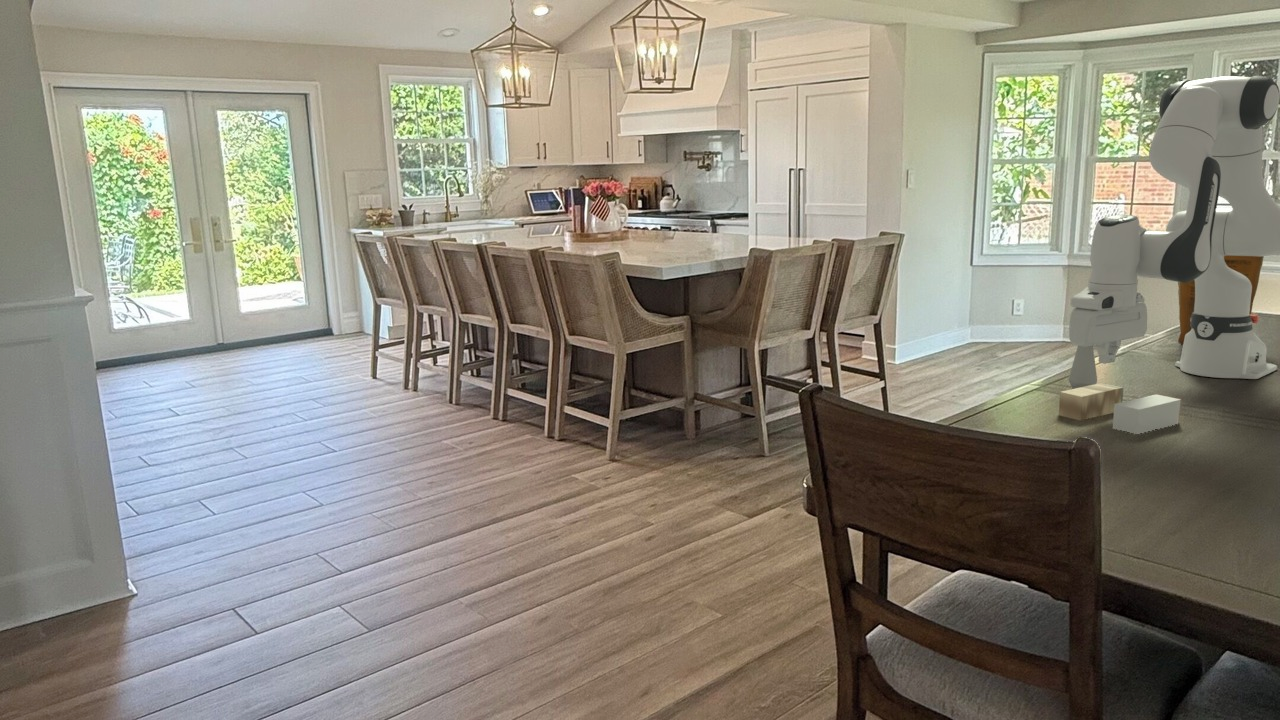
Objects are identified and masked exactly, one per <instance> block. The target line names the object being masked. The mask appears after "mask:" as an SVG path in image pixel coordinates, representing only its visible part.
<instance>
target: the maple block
mask: <svg viewBox="0 0 1280 720" xmlns="http://www.w3.org/2000/svg"><path fill="white" fill-rule="evenodd" d="M1124 388H1125V387H1122V386H1119V385H1114V384H1107V383H1104V382H1103V383H1102V382H1100V383H1099V382H1098V383H1096V384H1094V385H1089V386H1085V387H1080V388H1075V389H1072V388H1071V389H1067V390H1062V391H1059V402H1058V403H1059V405H1058V416H1061V417H1064V418H1069V419H1072V420H1077V421H1080V422H1081V421H1085V420H1089V419H1093V418H1097V416H1098V417H1100V416H1101V417H1102V416H1105V415H1109V414H1114V404H1117V403H1121V402H1124V401H1123V400H1124V399H1123V398H1124ZM1092 417H1093V418H1092ZM1088 418H1089V419H1088ZM1084 419H1085V420H1084Z"/></svg>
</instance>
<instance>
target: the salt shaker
mask: <svg viewBox="0 0 1280 720" xmlns="http://www.w3.org/2000/svg"><path fill="white" fill-rule="evenodd" d="M1095 360H1096V358H1095V352H1094V345H1093V346H1088V347H1083V346H1077V347H1076V351H1075V355H1074V358H1073V361H1072V365H1071V368H1070V369H1071V370H1070V372H1069V376H1068V382H1069V384H1070V386H1071V389H1075V388H1080V387H1085V386H1089V385H1094V384H1098V375H1097V368H1096V367H1097V366H1096V361H1095Z"/></svg>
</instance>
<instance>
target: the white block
mask: <svg viewBox="0 0 1280 720" xmlns="http://www.w3.org/2000/svg"><path fill="white" fill-rule="evenodd" d="M1181 405H1182V399H1181V398H1176V397H1171V396H1167V395H1162V394H1157V393H1156V394H1152V395H1147V396H1143V397H1140V398H1139V397H1137V398H1134V399H1131V400H1126V401H1122V402H1121V403H1117V404H1114V413H1113V420H1112V429H1113V430H1116V429H1117V431H1120V430H1122V431H1121V432H1123V431H1127V432H1130V433H1129V434H1131V433H1134V434H1133V435H1135V434H1139V435H1141V434H1140V433H1142V434H1145V433H1144V432H1146V433H1149V432H1148V431H1150V432H1153V431H1152V430H1154V431H1156V430H1155V429H1158V430H1161V429H1160V428H1162V429H1165V428H1164V427H1166V428H1169V427H1173V426H1176V425H1175V424H1177V425H1179V424H1180V420H1181V419H1180V418H1181ZM1178 423H1179V424H1178ZM1172 425H1173V426H1172ZM1168 426H1169V427H1168ZM1127 432H1126V433H1127Z"/></svg>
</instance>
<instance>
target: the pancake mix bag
mask: <svg viewBox="0 0 1280 720" xmlns="http://www.w3.org/2000/svg"><path fill="white" fill-rule="evenodd" d="M1264 257H1265V256H1260V257H1259V256H1228V255H1227V256H1224V261H1225V263H1226V265H1227V266H1228V267H1229V268H1231V269H1233V270H1235V271H1237V272H1239V273H1241V274H1243V275H1244V276H1246V277H1247V278H1248V279H1249V280H1250V282H1251V285H1252V293H1251V302H1250V311H1249V314H1251V315H1252V311H1253V306H1254V305H1253V304H1254V299H1255V296H1256V294H1257V291H1258V286H1259V282H1260V281H1259V280H1260V274H1261V269H1262V268H1263V263H1264ZM1177 287H1178V288H1177V289H1178V291H1177V293H1178V295H1177V296H1178V306H1179V312H1178V315H1179V316H1178V319H1179V329H1180V330H1179V331H1180V334H1179V336H1178V340H1177V342H1178V343H1179V344H1184V339H1185V335H1186V334H1187V333H1188V332H1190V331H1191V329H1192V328H1191V327H1190V324H1191V321H1190V319H1191V316H1192V313H1193V312H1194V305H1195V280H1192V281H1191V282H1188V283H1182V282H1177Z"/></svg>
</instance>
